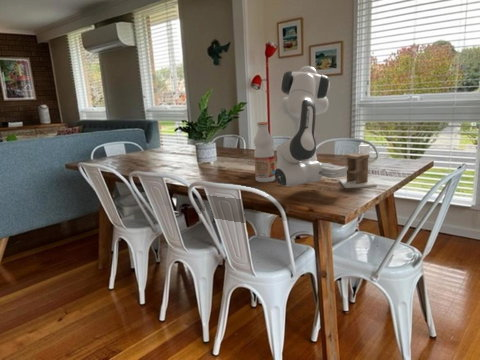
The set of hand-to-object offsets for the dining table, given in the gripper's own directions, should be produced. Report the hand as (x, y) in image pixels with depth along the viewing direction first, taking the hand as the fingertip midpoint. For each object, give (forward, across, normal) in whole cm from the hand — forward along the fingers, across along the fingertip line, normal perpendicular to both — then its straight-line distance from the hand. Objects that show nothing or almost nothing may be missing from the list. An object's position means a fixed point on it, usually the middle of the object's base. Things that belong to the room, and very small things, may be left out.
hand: (338, 166), depth 153 cm
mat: (+11, 0, +9) cm, 14 cm away
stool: (+11, 0, +8) cm, 13 cm away
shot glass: (+61, +46, +9) cm, 77 cm away
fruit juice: (-16, +33, +9) cm, 38 cm away
